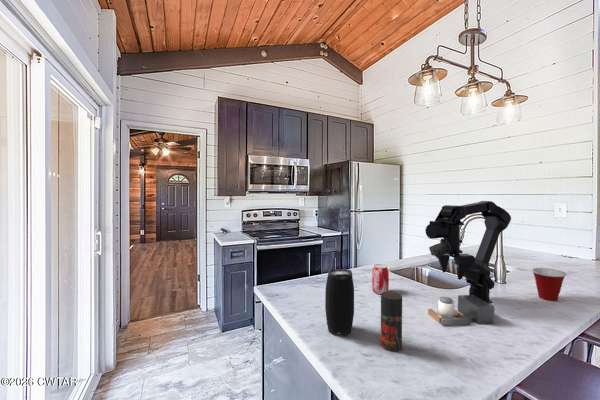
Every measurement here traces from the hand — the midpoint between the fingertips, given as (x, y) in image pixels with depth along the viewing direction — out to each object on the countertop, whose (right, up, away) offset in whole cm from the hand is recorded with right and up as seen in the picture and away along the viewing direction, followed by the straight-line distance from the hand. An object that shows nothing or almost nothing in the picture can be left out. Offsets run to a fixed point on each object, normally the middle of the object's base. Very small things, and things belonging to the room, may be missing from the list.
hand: (451, 275), depth 107 cm
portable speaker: (-48, -13, -20) cm, 53 cm away
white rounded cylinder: (-8, -12, -11) cm, 18 cm away
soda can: (-24, -12, +14) cm, 30 cm away
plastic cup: (+44, -12, +6) cm, 46 cm away
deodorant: (-34, -13, -28) cm, 46 cm away
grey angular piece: (-4, -12, -10) cm, 16 cm away
